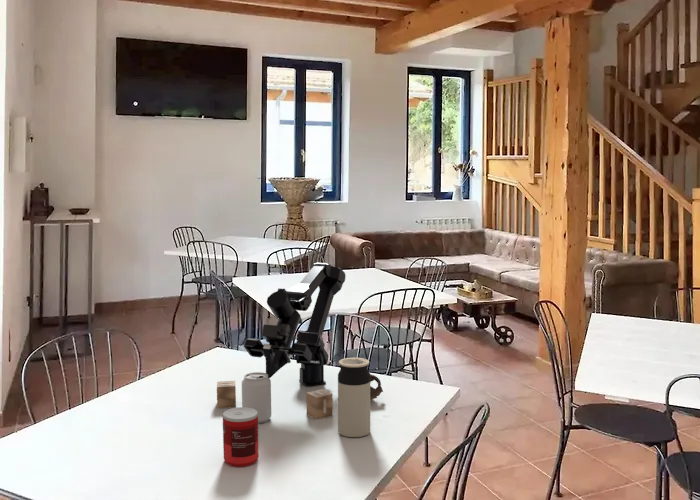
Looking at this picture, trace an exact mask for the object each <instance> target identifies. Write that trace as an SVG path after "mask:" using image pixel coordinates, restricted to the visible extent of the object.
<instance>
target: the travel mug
mask: <svg viewBox="0 0 700 500" xmlns="http://www.w3.org/2000/svg"><path fill="white" fill-rule="evenodd" d="M338 364H339V367H340V369H339V372H338V374H337V430H338V431H337V432H338V434H340V435H342V436H343V437H346V438H362V437H366V436H367V435H369V434H370V433H371V400H370V386H371V383H370V374H371V373H370V371H369V364H370V361H369V360H368V359H366V358H363V357H345V358H342V359H340V360H339V361H338Z"/></svg>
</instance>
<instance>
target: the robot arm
mask: <svg viewBox="0 0 700 500" xmlns="http://www.w3.org/2000/svg"><path fill="white" fill-rule="evenodd" d="M345 281H346V272H345V271H344V270H343V269H342V268H341V267H336V266H334V265H331V264H330V263H327V262H315V263H313V264H312V267H311V269H310V270H309V271H308V272H307V274H306V275H305V276H304V277H303V278H302V280H301V281H300V282H299V283H298V284H296V285H293V286H291V287H289V288H288V289H287V290H286V288H281V287H280V288H278V289H277V291H274V292H272V293H271V294H270V295H269V296H267V299H266V303H267V306H268V307H269V309H270V310H271V313H272V314H273V316H274V317H275V318H277V319H278V320H277V322H276V325H275V324H274V325H273V324H263V325H262V331H261V337H264V338H266V339H265V341H266V342H267V343H263V342H262V341H261V339H259V338H258V339H257V338H249V337H248V338H246V339H245V341H244V343H243V348H244V349H245V351H247V353H248V355H249V356H250V357H252V358H262V357H263V356H264V357H265V373H266V374H268V378H269V379H271V378H272V377H273V376H274V375H276V373H277V372H279V370H281V369H282V368H283V367H284V366H286V365H287V364H291V362H292V361H291V357H292V356H294V357H295V360H296V361H295V362H296V364H300V367H299V380H298V381H299V382H300V383H301V384H302V385H304V386H305V387H312V386H317V385H319V386H320V385H326V383H327V382H326V381H325V377H324V376H325V375H324V372H325V371H324V369H325V368H324V366H327V365H328V361H329V354H328V352H327V350H326V349H325V340H324V339H323V334H324V330H325V328H326V327H325V326H326V323H327V319H328V316H329V313H330V309H331V306H332V304H333V303H332V302H333V300H334V296H335V295H336V294H338V293H339V292H340V291H341V290H342V287H343V285H344V283H345ZM317 289H319V290H318V293H317V297H316V301H315V304H314V307H313V310H312V314H311V317H310V319H309V323H308V326H307V329H306V330H305V331H301V332H299V334H298V337H297V338H296V336H295V335H296V332H297V328H298V326H299V325H302V324H303V319H302V317H301V314H300V311H301V312H306V311H307V310H309V308H310V307H311V304H312V302H313V298H312V296H313V294H314V292H316V290H317ZM296 339H297V341H296ZM295 341H296V342H295ZM292 342H293V343H292Z"/></svg>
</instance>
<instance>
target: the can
mask: <svg viewBox="0 0 700 500" xmlns="http://www.w3.org/2000/svg"><path fill="white" fill-rule="evenodd" d="M241 407H247V408H252V409H255V410H256V411H257V413H258V424H263V423H265V422H268V420H269V419H271V418H272V381H271V378H268V374H266V372H262V371H258V372H257V371H255V372H248V373H246V374H244V375H243V380H241Z"/></svg>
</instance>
